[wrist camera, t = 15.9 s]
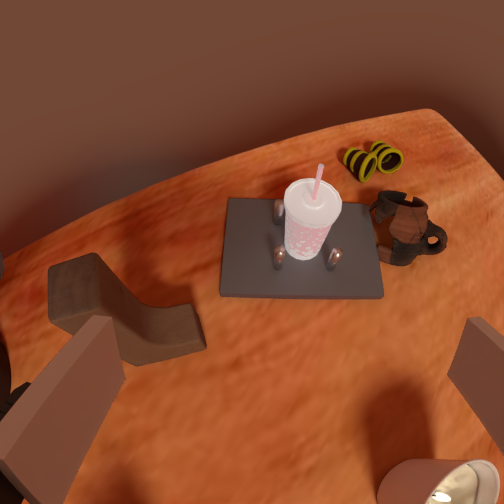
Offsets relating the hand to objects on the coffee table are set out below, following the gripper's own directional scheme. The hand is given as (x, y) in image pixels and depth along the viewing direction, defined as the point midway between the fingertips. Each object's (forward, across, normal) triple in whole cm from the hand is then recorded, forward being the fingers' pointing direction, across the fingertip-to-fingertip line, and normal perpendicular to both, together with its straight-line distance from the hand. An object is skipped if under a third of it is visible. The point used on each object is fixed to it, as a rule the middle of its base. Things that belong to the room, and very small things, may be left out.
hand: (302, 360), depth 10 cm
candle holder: (+7, +17, -27) cm, 33 cm away
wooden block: (+22, -12, -14) cm, 28 cm away
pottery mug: (+32, +19, -3) cm, 37 cm away
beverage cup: (+29, +4, -4) cm, 30 cm away
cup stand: (+30, +4, -4) cm, 31 cm away
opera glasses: (+42, +17, +6) cm, 46 cm away
